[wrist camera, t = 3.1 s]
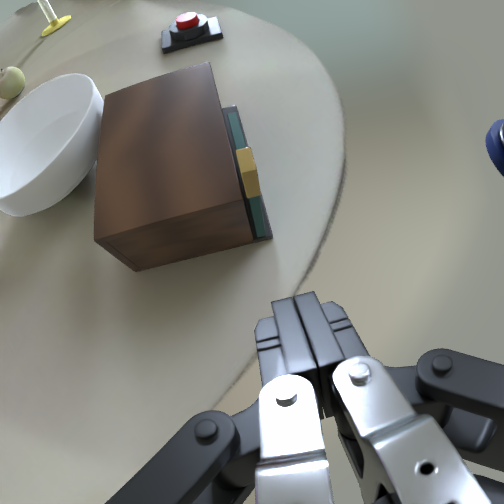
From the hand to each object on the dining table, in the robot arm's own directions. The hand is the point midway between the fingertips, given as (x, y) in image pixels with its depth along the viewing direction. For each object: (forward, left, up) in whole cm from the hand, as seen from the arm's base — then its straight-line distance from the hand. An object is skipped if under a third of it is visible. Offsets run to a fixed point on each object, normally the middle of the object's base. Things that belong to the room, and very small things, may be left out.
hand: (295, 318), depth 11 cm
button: (+3, -50, -14) cm, 52 cm away
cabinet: (+7, -19, -17) cm, 26 cm away
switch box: (+3, -50, -17) cm, 53 cm away
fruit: (+43, -58, -17) cm, 74 cm away
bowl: (+24, -28, -17) cm, 41 cm away
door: (0, -15, -16) cm, 22 cm away
